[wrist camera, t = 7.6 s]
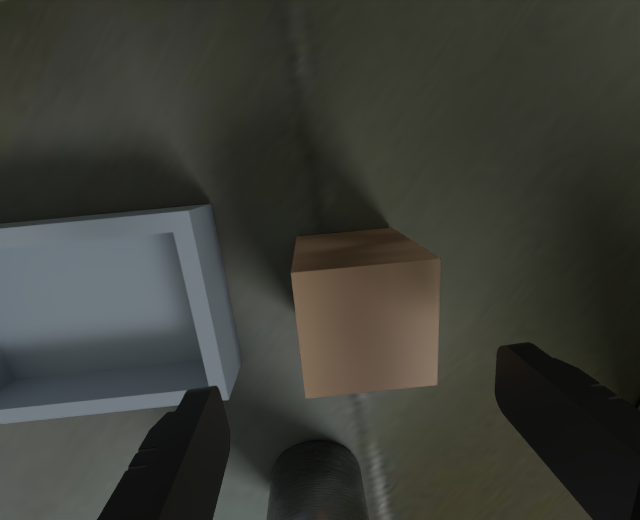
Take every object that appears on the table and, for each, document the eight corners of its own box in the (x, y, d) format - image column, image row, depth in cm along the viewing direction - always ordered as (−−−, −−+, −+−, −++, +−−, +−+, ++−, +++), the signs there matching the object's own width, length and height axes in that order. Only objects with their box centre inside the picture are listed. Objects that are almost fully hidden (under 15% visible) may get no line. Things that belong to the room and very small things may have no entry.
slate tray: (211, 203, 15) (188, 210, 12) (241, 362, 17) (228, 399, 15) (-54, 228, 15) (-142, 242, 12) (16, 386, 17) (-43, 428, 14)
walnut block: (391, 227, 16) (440, 258, 10) (393, 313, 17) (437, 385, 11) (296, 236, 16) (290, 272, 10) (305, 322, 17) (305, 398, 11)
